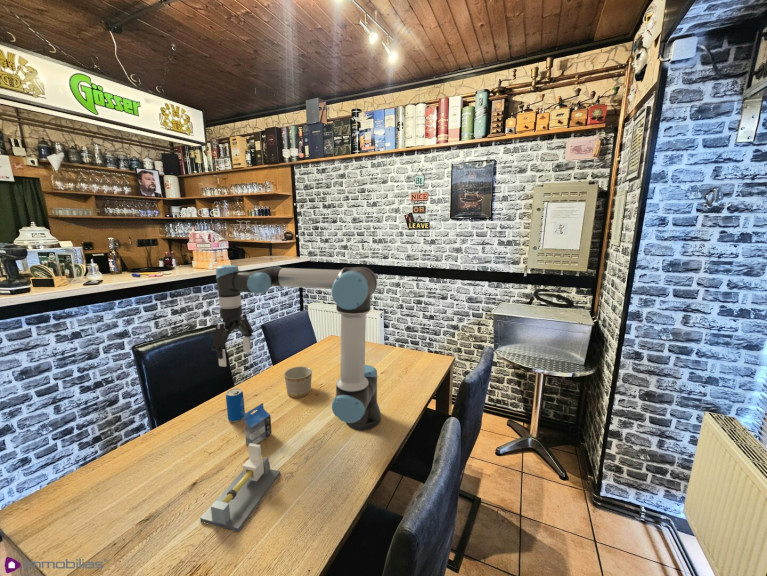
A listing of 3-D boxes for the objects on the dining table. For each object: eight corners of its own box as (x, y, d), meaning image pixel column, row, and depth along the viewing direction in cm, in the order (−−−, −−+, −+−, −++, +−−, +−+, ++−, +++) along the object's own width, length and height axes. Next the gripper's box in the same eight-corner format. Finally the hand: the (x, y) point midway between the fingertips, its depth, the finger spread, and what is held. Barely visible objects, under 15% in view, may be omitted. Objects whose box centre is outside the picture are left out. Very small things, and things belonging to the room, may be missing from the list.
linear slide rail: (280, 474, 101) (279, 457, 100) (238, 532, 82) (236, 512, 81) (248, 467, 104) (246, 451, 103) (200, 521, 85) (198, 502, 84)
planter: (279, 396, 147) (278, 375, 145) (296, 383, 159) (295, 364, 156) (301, 402, 142) (301, 381, 140) (317, 388, 154) (317, 369, 152)
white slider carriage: (263, 472, 99) (261, 445, 97) (256, 481, 95) (254, 453, 93) (251, 469, 100) (248, 442, 98) (243, 478, 96) (241, 450, 94)
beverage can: (238, 423, 127) (236, 397, 124) (224, 421, 128) (221, 395, 125) (248, 414, 133) (246, 388, 130) (234, 412, 134) (232, 387, 132)
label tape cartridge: (252, 448, 113) (250, 417, 110) (245, 444, 115) (242, 414, 112) (272, 434, 121) (270, 405, 118) (265, 431, 122) (263, 402, 120)
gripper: (244, 298, 131) (248, 345, 135) (195, 314, 107) (202, 371, 112) (259, 299, 129) (263, 347, 134) (213, 316, 106) (220, 374, 110)
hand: (235, 358), depth 123 cm, fingers open, 13 cm apart
